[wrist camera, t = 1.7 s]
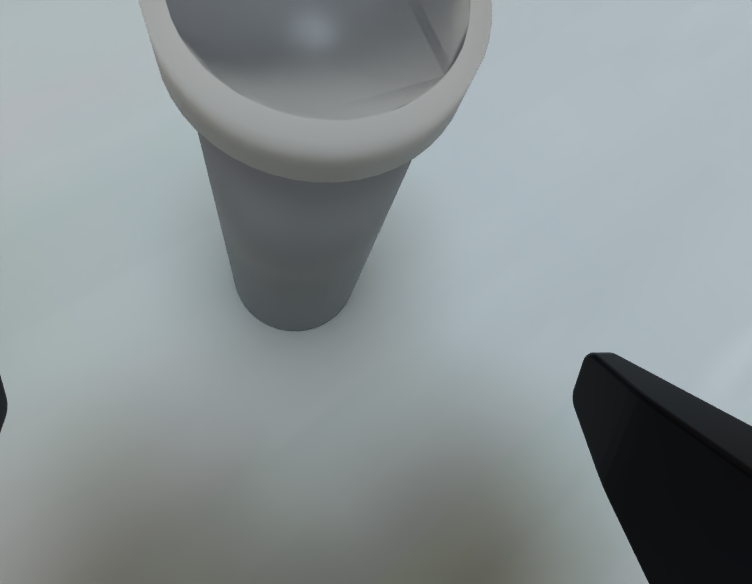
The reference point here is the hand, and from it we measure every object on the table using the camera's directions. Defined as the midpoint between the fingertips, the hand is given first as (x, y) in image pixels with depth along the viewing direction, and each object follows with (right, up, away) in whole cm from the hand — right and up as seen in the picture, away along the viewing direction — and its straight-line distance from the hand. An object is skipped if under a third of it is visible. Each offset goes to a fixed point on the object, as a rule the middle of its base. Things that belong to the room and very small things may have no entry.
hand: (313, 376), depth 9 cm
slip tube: (-2, +2, +13) cm, 13 cm away
